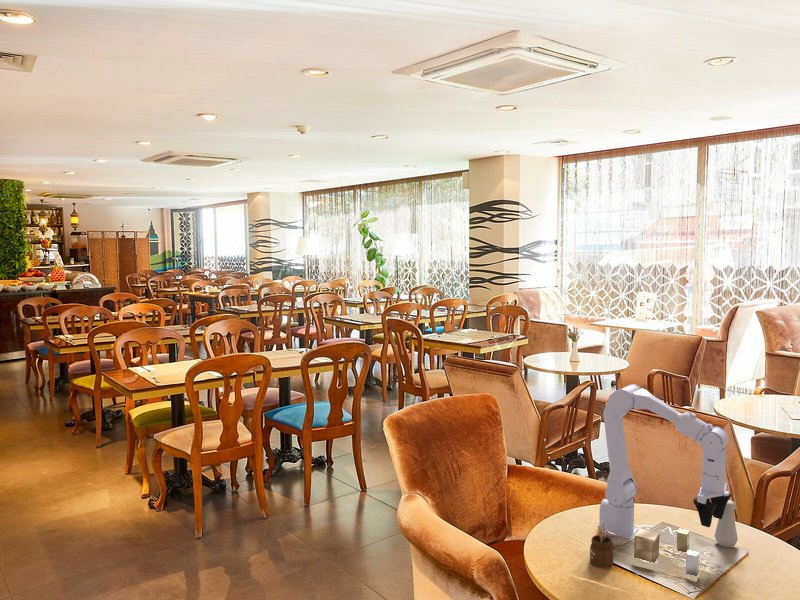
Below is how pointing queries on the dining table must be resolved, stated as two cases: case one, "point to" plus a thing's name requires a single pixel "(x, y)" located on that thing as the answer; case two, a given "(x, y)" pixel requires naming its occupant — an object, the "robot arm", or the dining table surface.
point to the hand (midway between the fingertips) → (711, 521)
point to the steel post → (692, 562)
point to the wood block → (646, 545)
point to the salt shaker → (727, 527)
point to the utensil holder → (601, 550)
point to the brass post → (683, 540)
